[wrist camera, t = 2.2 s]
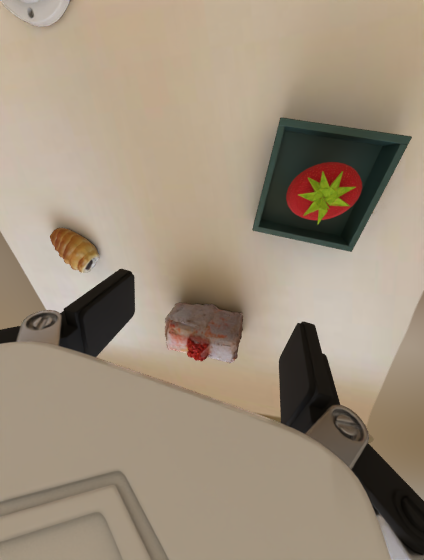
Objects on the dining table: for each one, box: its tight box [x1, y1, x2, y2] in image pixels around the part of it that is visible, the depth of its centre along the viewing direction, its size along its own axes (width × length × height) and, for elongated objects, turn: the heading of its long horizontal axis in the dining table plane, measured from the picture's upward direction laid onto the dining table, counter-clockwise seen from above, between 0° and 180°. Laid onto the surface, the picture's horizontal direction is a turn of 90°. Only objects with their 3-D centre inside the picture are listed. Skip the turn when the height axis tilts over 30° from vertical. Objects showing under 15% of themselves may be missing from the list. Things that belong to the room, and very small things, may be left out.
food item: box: [165, 303, 243, 363], centre depth 40 cm, size 14×8×10 cm, turn 90°
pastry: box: [50, 228, 99, 273], centre depth 41 cm, size 9×7×4 cm
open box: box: [252, 118, 412, 252], centre depth 27 cm, size 12×13×4 cm
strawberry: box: [286, 162, 362, 225], centre depth 24 cm, size 6×8×10 cm
